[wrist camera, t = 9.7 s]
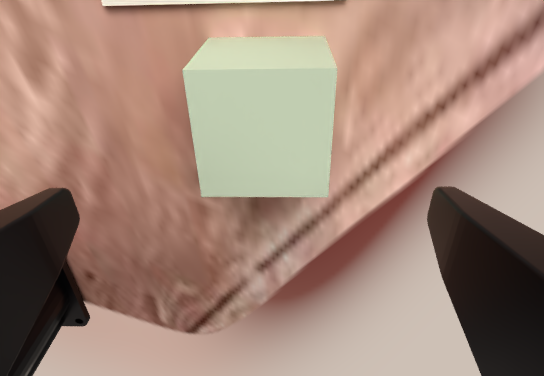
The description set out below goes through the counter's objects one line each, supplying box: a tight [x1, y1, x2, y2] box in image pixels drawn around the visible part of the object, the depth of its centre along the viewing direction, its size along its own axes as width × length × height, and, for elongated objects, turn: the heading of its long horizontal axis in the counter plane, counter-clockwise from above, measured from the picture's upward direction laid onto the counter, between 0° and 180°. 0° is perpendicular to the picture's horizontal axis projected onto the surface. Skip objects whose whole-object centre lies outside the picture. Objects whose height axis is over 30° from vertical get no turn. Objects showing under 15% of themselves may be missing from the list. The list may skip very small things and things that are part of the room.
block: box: [182, 36, 337, 197], centre depth 14 cm, size 4×4×4 cm
